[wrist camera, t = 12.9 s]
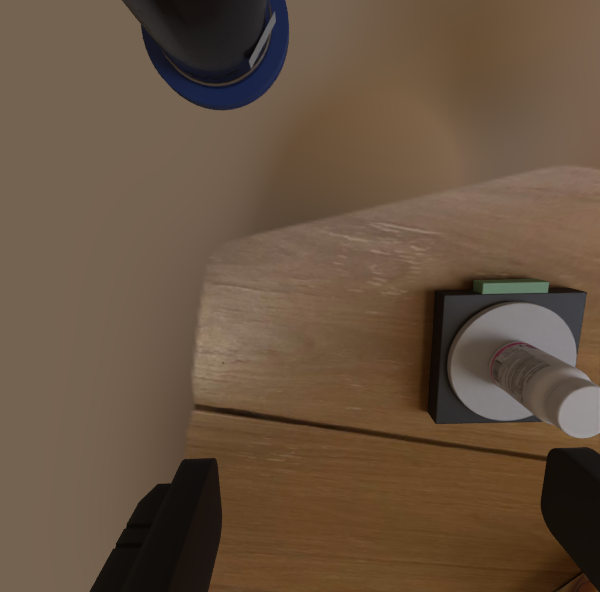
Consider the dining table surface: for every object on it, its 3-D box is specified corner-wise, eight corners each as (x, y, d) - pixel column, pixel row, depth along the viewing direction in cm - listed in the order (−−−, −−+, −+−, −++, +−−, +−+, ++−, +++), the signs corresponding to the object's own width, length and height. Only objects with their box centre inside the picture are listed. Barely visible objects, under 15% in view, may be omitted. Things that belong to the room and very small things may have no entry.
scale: (435, 280, 34) (448, 285, 31) (570, 277, 34) (596, 282, 31) (427, 412, 36) (438, 429, 34) (551, 409, 36) (573, 426, 34)
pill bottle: (549, 361, 32) (636, 409, 24) (511, 397, 33) (583, 456, 25) (514, 329, 31) (591, 367, 23) (476, 367, 32) (537, 417, 24)
